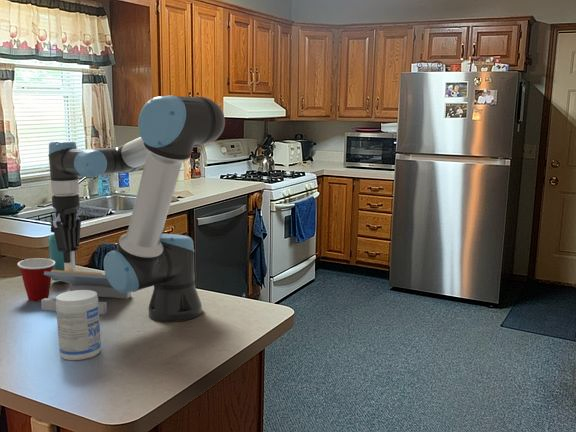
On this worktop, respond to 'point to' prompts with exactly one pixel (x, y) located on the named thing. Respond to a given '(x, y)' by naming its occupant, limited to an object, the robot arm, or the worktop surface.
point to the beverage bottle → (55, 254)
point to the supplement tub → (78, 324)
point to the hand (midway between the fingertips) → (70, 272)
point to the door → (79, 277)
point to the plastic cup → (36, 277)
